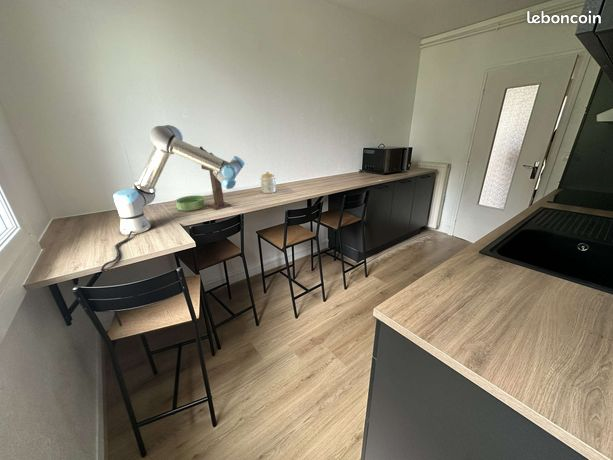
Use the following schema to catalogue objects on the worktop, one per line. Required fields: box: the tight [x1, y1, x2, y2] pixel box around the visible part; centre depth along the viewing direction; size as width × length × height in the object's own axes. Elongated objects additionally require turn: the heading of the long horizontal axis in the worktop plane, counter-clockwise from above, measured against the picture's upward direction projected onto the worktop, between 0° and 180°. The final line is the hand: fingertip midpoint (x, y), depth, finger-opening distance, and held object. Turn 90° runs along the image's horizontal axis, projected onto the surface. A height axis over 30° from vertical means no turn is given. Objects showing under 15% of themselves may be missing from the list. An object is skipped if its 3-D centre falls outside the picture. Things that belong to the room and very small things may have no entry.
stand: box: [201, 165, 232, 211], centre depth 183 cm, size 12×12×30 cm
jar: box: [260, 171, 277, 194], centre depth 222 cm, size 13×13×18 cm
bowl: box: [175, 194, 206, 212], centre depth 186 cm, size 20×20×6 cm
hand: (198, 148), depth 165 cm, fingers closed on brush, 2 cm apart
